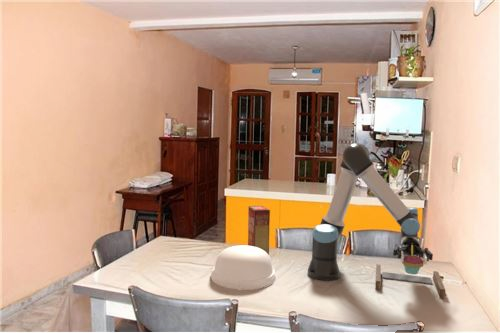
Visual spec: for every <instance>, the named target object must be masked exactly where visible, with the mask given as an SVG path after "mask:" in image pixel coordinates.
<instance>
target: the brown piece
mask: <svg viewBox="0 0 500 333" xmlns="http://www.w3.org/2000/svg"><path fill="white" fill-rule="evenodd" d="M375 267H376V268H375V285H374V287H375V288H374V290H375V291H376V290H377V291H381V282H382V279H385V280H391V281H399V282H401V281H402V282H408V283H415V284H422V283H423V284H425V285H433V284H434V287H435V290H436V291H437V296H438V297H439V299H442V300H445V298H446V288H445V286H444V283H443V280H442V277H441V275H440V273H439V271H435V270H434V271H433V275H432V277H427V276H418V275H413V274H405V273H404V274H402V273H396V272H395V273H394V272H388V271H387V272H385V271H382V265H381V264H376V266H375ZM381 273H382V274H381ZM381 275H382V276H381ZM432 280H433V281H432ZM423 284H422V285H423Z"/></svg>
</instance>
